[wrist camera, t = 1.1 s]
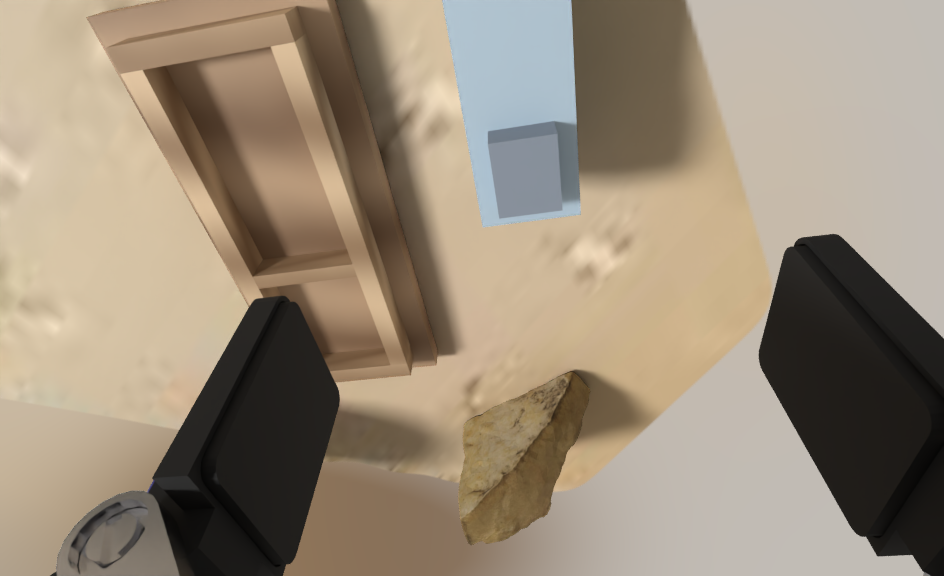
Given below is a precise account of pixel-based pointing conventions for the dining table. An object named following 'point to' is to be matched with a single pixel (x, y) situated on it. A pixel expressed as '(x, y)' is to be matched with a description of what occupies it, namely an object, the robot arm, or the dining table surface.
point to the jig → (280, 165)
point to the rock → (518, 458)
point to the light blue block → (518, 105)
